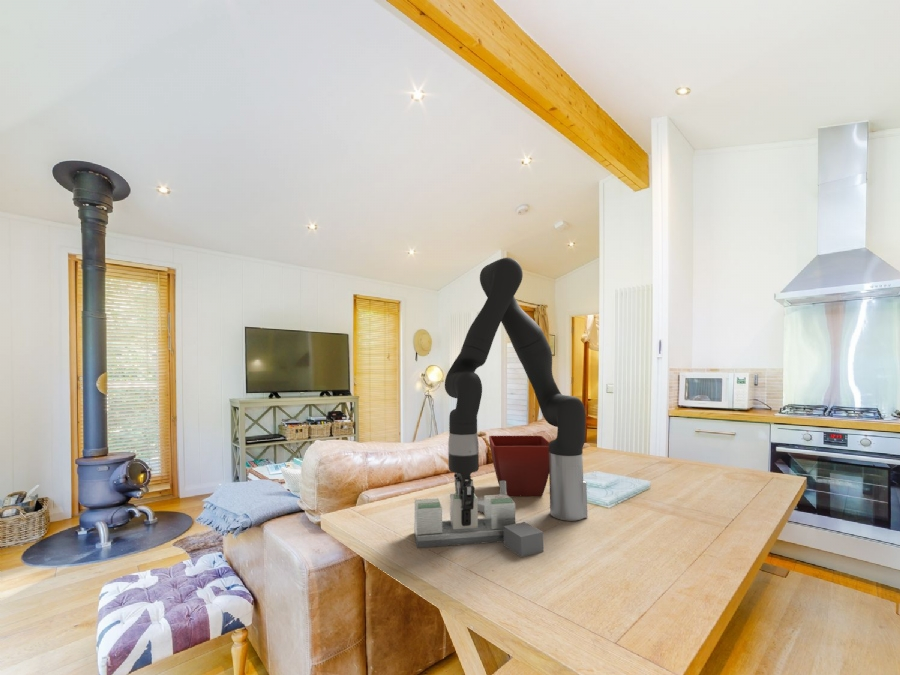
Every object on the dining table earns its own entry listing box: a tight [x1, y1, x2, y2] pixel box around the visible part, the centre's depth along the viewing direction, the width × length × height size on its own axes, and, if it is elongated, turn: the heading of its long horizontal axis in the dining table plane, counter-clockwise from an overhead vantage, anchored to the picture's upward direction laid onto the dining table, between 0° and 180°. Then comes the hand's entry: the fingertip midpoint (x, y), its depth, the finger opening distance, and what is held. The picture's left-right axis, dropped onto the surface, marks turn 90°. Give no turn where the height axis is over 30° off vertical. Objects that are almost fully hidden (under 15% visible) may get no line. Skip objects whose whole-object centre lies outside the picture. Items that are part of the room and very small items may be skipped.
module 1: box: [449, 493, 479, 529], centre depth 104 cm, size 6×4×7 cm
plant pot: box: [488, 435, 550, 498], centre depth 141 cm, size 19×19×17 cm
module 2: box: [503, 521, 544, 558], centre depth 97 cm, size 6×7×4 cm
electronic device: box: [477, 481, 507, 514], centre depth 122 cm, size 5×10×15 cm
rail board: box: [413, 494, 516, 549], centre depth 104 cm, size 24×9×9 cm, turn 99°
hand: (464, 521), depth 104 cm, fingers closed on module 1, 4 cm apart
